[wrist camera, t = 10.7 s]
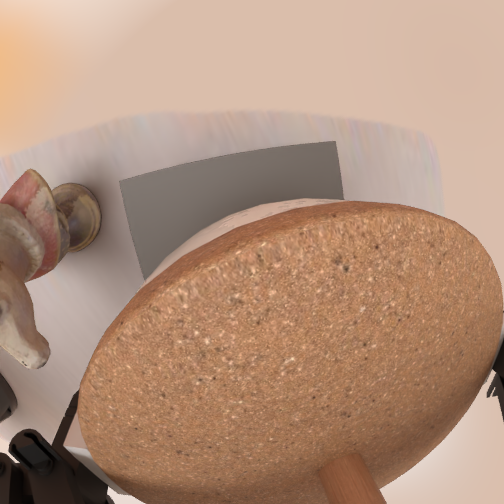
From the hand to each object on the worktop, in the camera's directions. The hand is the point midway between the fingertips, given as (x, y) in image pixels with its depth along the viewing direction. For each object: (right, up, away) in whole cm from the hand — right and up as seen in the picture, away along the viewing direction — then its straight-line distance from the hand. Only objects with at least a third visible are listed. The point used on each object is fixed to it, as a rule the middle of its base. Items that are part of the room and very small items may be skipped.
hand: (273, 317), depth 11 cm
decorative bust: (-20, +5, +14) cm, 25 cm away
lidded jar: (0, 0, +1) cm, 1 cm away
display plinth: (-3, +5, +16) cm, 17 cm away
